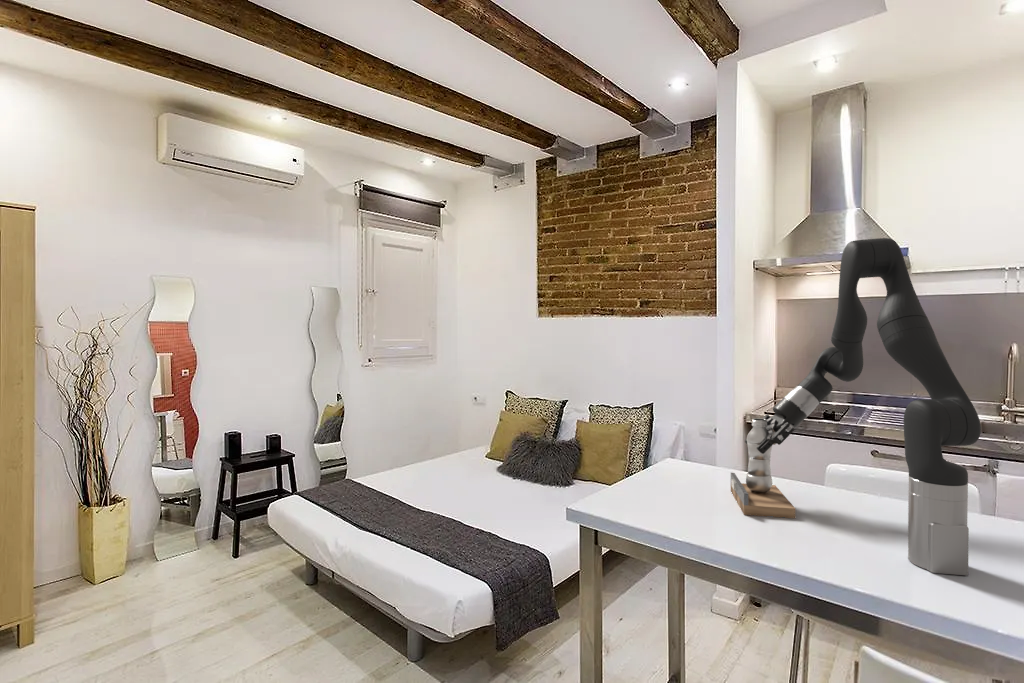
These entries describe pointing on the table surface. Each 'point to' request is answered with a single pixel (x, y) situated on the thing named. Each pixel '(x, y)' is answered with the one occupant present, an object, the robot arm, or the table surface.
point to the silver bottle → (758, 458)
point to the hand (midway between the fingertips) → (753, 447)
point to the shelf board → (766, 503)
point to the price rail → (739, 489)
